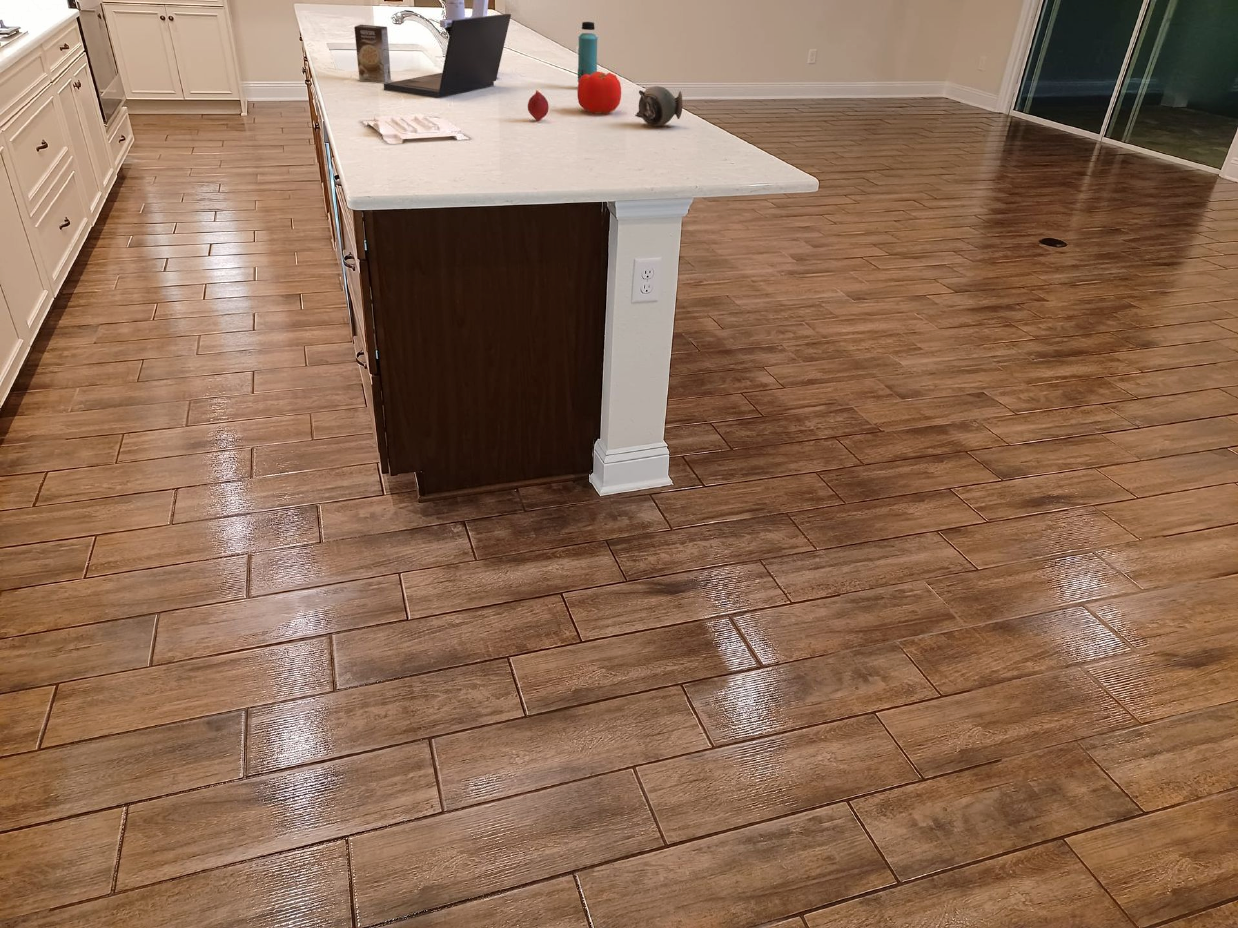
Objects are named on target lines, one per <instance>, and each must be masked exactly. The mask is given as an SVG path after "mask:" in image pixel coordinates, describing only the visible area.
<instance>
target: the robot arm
mask: <svg viewBox="0 0 1238 928" xmlns="http://www.w3.org/2000/svg"><path fill="white" fill-rule="evenodd" d="M445 8H446V10H445V12H446V18H444V19H441V20H439V27H440V28H443V29H445V31H446V33H447V34H448V36H449V35H450V30H451V25H452V20H458V19H467V18H475V17H484V16H488V8H489V0H473V1H472V10H471V16H470V17H469V16H466V7H465V0H445ZM497 79H499V76H497ZM497 79H496V80H497Z"/></svg>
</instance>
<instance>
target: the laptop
mask: <svg viewBox="0 0 1238 928" xmlns="http://www.w3.org/2000/svg"><path fill="white" fill-rule="evenodd" d="M441 78H442V72H437V73H432V74H428V75H427V74H426V75H422V76H417V77H411V78H407V79H400V80H396V81H389V82H386V83H383V90H384V91H390V92H396V93H403V94H408V95H409V94H410V95H416V96H422V97H423V96H424V97H429V98H437V99H441V98H445V97H450V96H453V95H458V94H463V93H467V92H473V91H476V90H481V89H485V88H489V87H494V86H495V81H493V82H489V83H484V84H479V85H475V86H470V87H466V88H461V89H456V90H452V91H447V92H443V93H440V92H439V88H440V83H441Z"/></svg>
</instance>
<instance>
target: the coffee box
mask: <svg viewBox="0 0 1238 928" xmlns="http://www.w3.org/2000/svg"><path fill="white" fill-rule="evenodd" d="M353 29H354V38H355V48H356V59H357V70H358V81H360V82H370V83H371V82H372V83H382V84H385V83H389V82H391V81H392V76H391V75H392V74H391V62H390V47H389V35H388V27H387V26H383V25H371V24H370V25H369V24H359V25H355V26H354V28H353Z"/></svg>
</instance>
